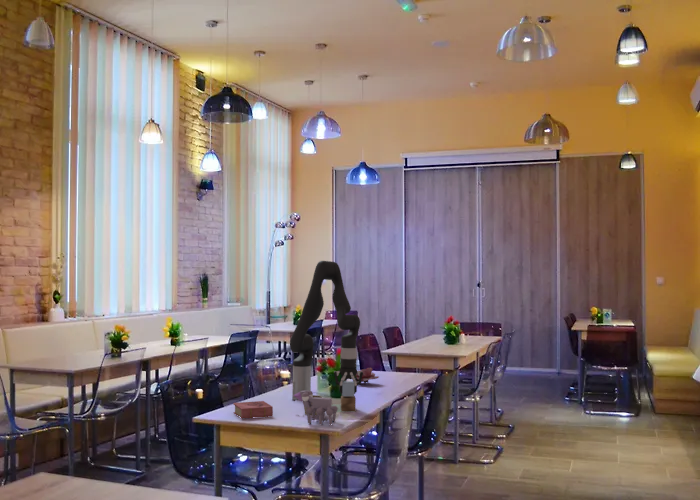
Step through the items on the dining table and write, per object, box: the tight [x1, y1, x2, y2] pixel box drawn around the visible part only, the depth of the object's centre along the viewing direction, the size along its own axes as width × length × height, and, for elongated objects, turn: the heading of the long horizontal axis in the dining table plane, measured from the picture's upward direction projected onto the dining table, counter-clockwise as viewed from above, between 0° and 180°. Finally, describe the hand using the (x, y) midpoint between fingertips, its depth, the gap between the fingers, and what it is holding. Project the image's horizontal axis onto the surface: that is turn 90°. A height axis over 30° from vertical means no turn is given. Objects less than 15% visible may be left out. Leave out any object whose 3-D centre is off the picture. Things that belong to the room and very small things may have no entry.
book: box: [233, 400, 274, 419], centre depth 326 cm, size 14×15×5 cm
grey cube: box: [341, 380, 355, 396], centre depth 335 cm, size 6×6×6 cm
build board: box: [332, 403, 357, 413], centre depth 339 cm, size 12×18×1 cm, turn 3°
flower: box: [354, 367, 380, 385], centre depth 415 cm, size 15×15×10 cm
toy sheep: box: [293, 391, 338, 426], centre depth 312 cm, size 20×11×14 cm, turn 72°
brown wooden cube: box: [340, 395, 357, 411], centre depth 335 cm, size 6×6×6 cm
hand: (348, 393), depth 335 cm, fingers closed on grey cube, 5 cm apart
